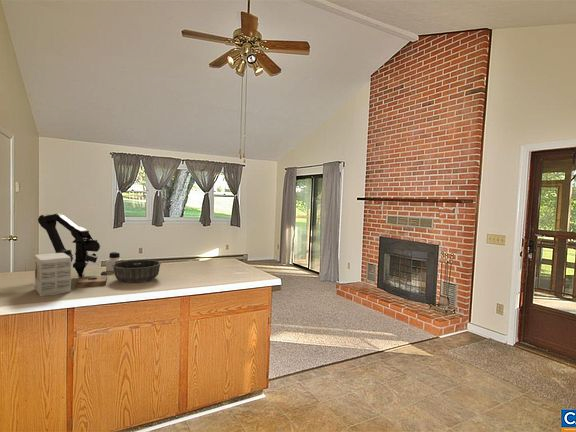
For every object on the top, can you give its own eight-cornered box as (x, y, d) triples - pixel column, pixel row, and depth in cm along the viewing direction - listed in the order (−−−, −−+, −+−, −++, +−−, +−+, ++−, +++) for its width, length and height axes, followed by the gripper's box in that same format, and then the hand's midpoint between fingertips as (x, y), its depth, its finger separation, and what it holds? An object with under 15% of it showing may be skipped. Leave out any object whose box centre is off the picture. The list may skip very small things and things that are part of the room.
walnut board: (76, 287, 181) (76, 282, 181) (79, 281, 194) (79, 276, 194) (105, 285, 187) (105, 280, 187) (107, 279, 200) (107, 275, 200)
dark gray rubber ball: (100, 277, 203) (100, 272, 203) (101, 276, 206) (101, 270, 206) (107, 277, 204) (107, 271, 204) (107, 276, 208) (107, 270, 207)
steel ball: (77, 279, 198) (77, 273, 198) (78, 277, 201) (78, 272, 201) (84, 278, 199) (84, 272, 199) (84, 277, 202) (84, 271, 202)
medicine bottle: (115, 271, 219) (115, 253, 219) (105, 271, 221) (106, 252, 220) (122, 269, 226) (123, 252, 226) (113, 268, 228) (113, 251, 227)
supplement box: (33, 288, 176) (33, 254, 175) (64, 284, 185) (64, 252, 184) (39, 296, 163) (39, 259, 162) (71, 292, 173) (71, 257, 172)
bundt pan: (102, 284, 189) (102, 266, 189) (126, 273, 216) (127, 258, 215) (148, 286, 188) (148, 269, 188) (167, 276, 215) (167, 260, 214)
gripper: (95, 252, 194) (95, 279, 195) (98, 247, 211) (97, 272, 212) (72, 253, 189) (72, 280, 190) (77, 248, 206) (77, 273, 207)
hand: (81, 276), depth 200 cm, fingers closed on steel ball, 3 cm apart
